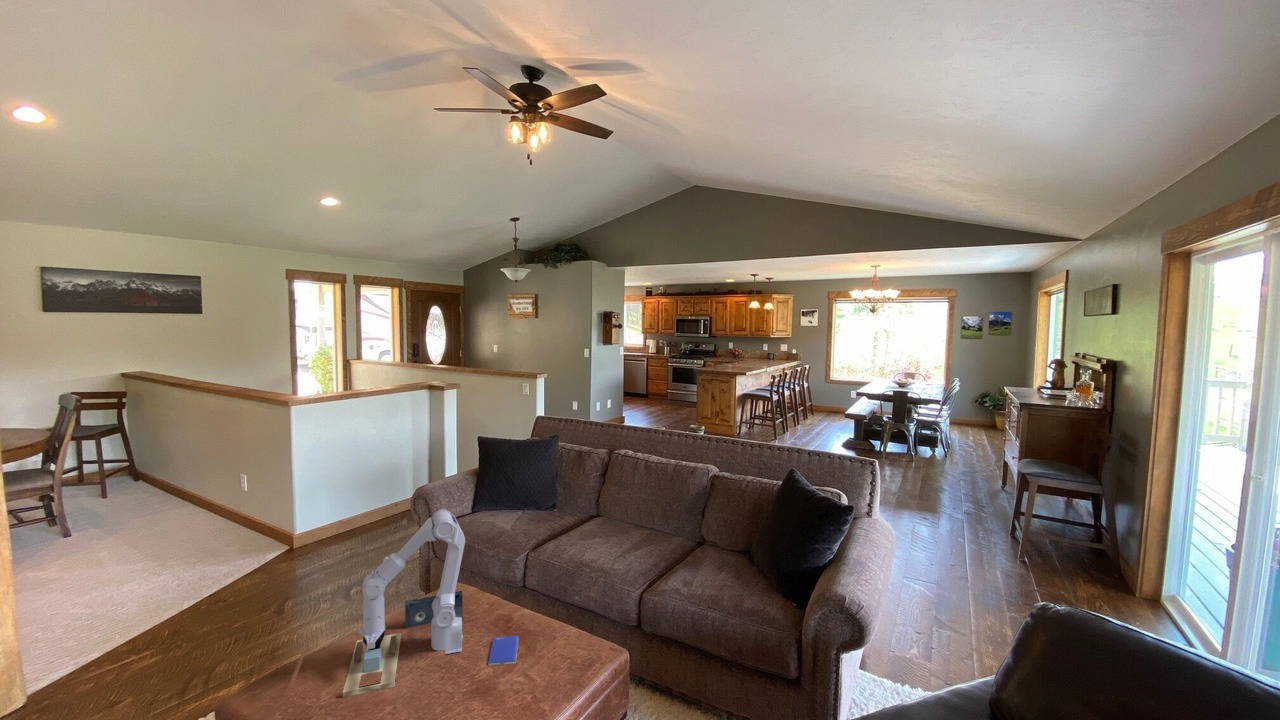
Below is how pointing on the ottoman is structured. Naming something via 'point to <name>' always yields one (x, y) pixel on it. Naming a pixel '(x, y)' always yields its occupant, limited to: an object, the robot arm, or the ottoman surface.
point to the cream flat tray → (387, 667)
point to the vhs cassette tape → (427, 610)
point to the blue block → (372, 660)
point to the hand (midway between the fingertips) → (374, 656)
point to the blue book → (503, 650)
